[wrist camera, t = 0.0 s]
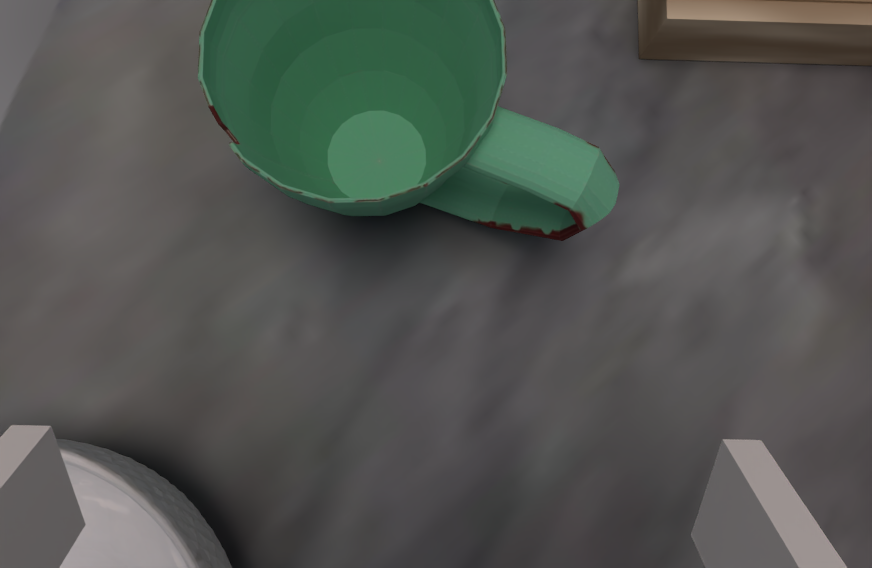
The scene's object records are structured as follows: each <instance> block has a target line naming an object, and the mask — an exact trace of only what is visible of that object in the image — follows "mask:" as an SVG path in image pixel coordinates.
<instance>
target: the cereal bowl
mask: <svg viewBox="0 0 872 568" xmlns="http://www.w3.org/2000/svg"><path fill="white" fill-rule="evenodd" d="M56 441H57V444H58V447H59V449H60V452H61V455H62V458H63V461H64V464H65V467H66V470H67V472H68V475H69V478H70V481H71V484H72V487H73V490H74V492H75V495H76V498H77V501H78V504H79V507H80V510H81V513H82V515H83V518H84V521H85V524H86V525H85V527H84V528H83V530H82V531H81V533H80V535H79V536H78V538H77V540H76V541H75V543H74V545H73V546H72V548H71V549H70V551H69V553H68V554H67V556H66V558H65V559H64V561H63V562H62V564H61V566H60V567H59V568H232V566H231V565H230V562H229V559H228V558H227V556H226V553H225V551H224V549H223V548H222V546H221V544H220V542H219V540H218V539H217V537H216V536H215V534H214V531H213V529H212V528H211V527H210V526H209V525H208V524H207V522H206V520H205V519H204V518H203V517H202V515H201V514H200V512H199V510H198V509H197V508H196V507H195V506H194V505H193V503H192V502H190V501H189V500H188V499H187V497H186V496H185V495H184V493H182V492H180V491H179V490H178V489H177V488H176V487H175V486H174V485H172V484H170V483H169V481H168V480H167V479H165V478H163V477H161V476H159V475H158V474H157V473H156V472H155V471H154V470H152V469H149V468H147V467H146V466H145V465H143V464H140V463H138V462H136V461H134V460H133V459H132V458H130V457H126V456H123V455H120V454H118V453H116V452H113V451H111V450H109V449H106V448H100V447H98V446H94V445H91V444H88V443H81V442H77V441H73V440H66V439H56Z"/></svg>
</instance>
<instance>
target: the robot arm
mask: <svg viewBox="0 0 872 568" xmlns="http://www.w3.org/2000/svg"><path fill="white" fill-rule="evenodd" d="M85 525H86V524H85V521H84V518H83V515H82V513H81V510H80V507H79V504H78V501H77V498H76V495H75V492H74V490H73V487H72V484H71V481H70V478H69V475H68V472H67V470H66V467H65V464H64V461H63V458H62V455H61V452H60V449H59V447H58V444H57V441H56V438H55V435H54V432H53V429H52V427H51V426H32V425H11V426H10V427H9V428H8V429H7V430H6V432H5V433H4V434H3V435H2V436H1V437H0V568H59V567H60V566H61V564H62V562H63V561H64V559H65V558H66V556H67V554H68V553H69V551H70V549H71V548H72V546H73V545H74V543H75V541H76V540H77V538H78V536H79V535H80V533H81V531H82V530H83V528H84V527H85ZM691 537H692V539H693V541H694V543H695V546H696V548H697V550H698V552H699V555H700V557H701V559H702V561H703V564H704V566H705V568H847V567H846V565H845V564H844V562H843V561H842V559H841V558H840V556H839V555H838V553H837V552H836V550H835V549H834V548H833V546H832V545H831V543H830V542H829V540H828V539H827V537H826V536H825V534H824V533H823V531H822V530H821V528H820V527H819V525H818V524H817V522H816V521H815V519H814V518H813V516H812V515H811V513H810V512H809V511H808V509H807V508H806V506H805V505H804V503H803V502H802V500H801V499H800V497H799V496H798V494H797V493H796V491H795V490H794V488H793V487H792V485H791V484H790V482H789V481H788V479H787V478H786V476H785V475H784V474H783V472H782V471H781V469H780V468H779V466H778V465H777V463H776V462H775V460H774V459H773V457H772V456H771V454H770V453H769V451H768V450H767V448H766V447H765V445H764V444H763V442H762V441H761V440H731V439H722V442H721V445H720V448H719V451H718V454H717V457H716V461H715V464H714V467H713V470H712V473H711V476H710V479H709V482H708V485H707V488H706V491H705V494H704V497H703V500H702V503H701V506H700V509H699V512H698V515H697V518H696V521H695V524H694V527H693V530H692V533H691Z"/></svg>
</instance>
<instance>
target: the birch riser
mask: <svg viewBox="0 0 872 568" xmlns="http://www.w3.org/2000/svg"><path fill="white" fill-rule="evenodd" d="M638 33H639V59H661V60H694V61H728V62H761V63H795V64H828V65H862V66H872V0H638Z"/></svg>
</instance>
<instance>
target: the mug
mask: <svg viewBox="0 0 872 568" xmlns="http://www.w3.org/2000/svg"><path fill="white" fill-rule="evenodd" d="M506 76H507V61H506V35H505V27H504V24H503V22H502V19H501V17H500V14H499V12H498V9H497V6H496V4H495V1H494V0H212V1H211V3H210V6H209V8H208V11H207V14H206V16H205V19H204V22H203V24H202V27H201V29H200V33H199V63H198V79H199V82H200V85H201V88H202V90H203V93H204V96H205V99H206V101H207V104H208V107H209V108H210V110H211V112H212V114H213V116H214V117H215V119H216V121H217V123H218V124H219V125H220V126H221V127H222V129H223V130H224V131H225V132H226V133H227V134H228V135H229V137H230V138H231V139H232V140H233V142H232V143H229V146H230V147H231V148H232V150H233V151H234V152H235V154H236V155H237V157H238V158H239V159H240V161H241V162H242V163H243V164H244V165H245V166H246V167H247V168H248V169H250V170H251V171H253V172H254V173H255V174H257V175H258V176H260V177H261V178H263V179H264V180H266V181H267V182H268V183H270V184H271V185H273V186H274V187H276V188H277V189H279V190H280V191H281V192H283V193H284V194H286V195H287V196H289V197H291V198H295V199H297V200H299V201H301V202H304V203H306V204H308V205H312V206H315V207H319V208H322V209H325V210H329V211H332V212H336V213H339V214H342V215H348V216H385V215H388V214H391V213H394V212H397V211H400V210H403V209H406V208H409V207H412V206H415V205H417V204H418V203H422V204H425V205H428V206H431V207H434V208H436V209H439V210H442V211H445V212H448V213H451V214H453V215H456V216H459V217H462V218H465V219H467V220H470V221H473V222H476V223H479V224H482V225H484V226H487V227H490V228H495V229H501V230H506V231H511V232H517V233H522V234H528V235H533V236H539V237H544V238H550V239H555V240H560V241H563V240H565V239H567V238H569V237H571V236H573V235H575V234H577V233H579V232H581V231H583V230H585V229H587V228H588V227H590V226H592V225H594V224H595V223H597V222H598V221H600V220H601V219H602V218H604V217H605V216H606V215H607V214H609V213H610V212H611V210H612V208H613V207H614V205H615V203H616V199H617V195H618V189H619V182H618V179H617V176H616V174H615V171H614V170H613V168H612V167H611V165H610V164H609V162H608V161H607V159H606V158H605V156H604V155H603V153H602V152H601V150H600V149H599V147H597V146H595V145H593V144H591V143H589V142H586V141H584V140H582V139H580V138H578V137H576V136H574V135H571V134H569V133H567V132H565V131H563V130H561V129H558V128H556V127H553V126H550V125H548V124H545V123H542V122H539V121H537V120H534V119H531V118H528V117H526V116H523V115H520V114H517V113H515V112H512V111H509V110H506V109H504V108H501V107H498V103H499V100H500V97H501V93H502V90H503V87H504V83H505V80H506Z"/></svg>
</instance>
